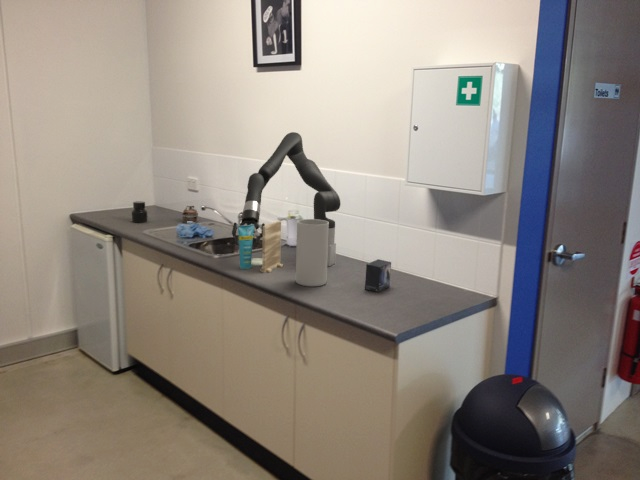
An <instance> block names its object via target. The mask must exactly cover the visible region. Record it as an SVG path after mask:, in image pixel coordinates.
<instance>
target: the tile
mask: <svg viewBox="0 0 640 480" xmlns="http://www.w3.org/2000/svg"><path fill="white" fill-rule="evenodd" d="M251 266H254V267H255V266H256V267H262V257H254V258H252V260H251Z"/></svg>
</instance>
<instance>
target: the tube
mask: <svg viewBox="0 0 640 480" xmlns="http://www.w3.org/2000/svg"><path fill="white" fill-rule="evenodd" d="M237 232H238V233H239V245H238V248H239V269H240V270H250V269H251V268H252V265H251V260H252V256H253V255H252V254H253V242H254V225H245V226H238V229H237Z"/></svg>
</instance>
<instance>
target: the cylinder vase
mask: <svg viewBox="0 0 640 480" xmlns="http://www.w3.org/2000/svg"><path fill="white" fill-rule="evenodd" d="M328 229H329V222H328V221H325V220H318V219H314V218H312V219H311V218H309V219H308V218H305V219H303V218H302V219H299V220H297V222H296V247H295V249H296V250H295V251H296V256H295V257H296V258H295V282H296V284H298V285H300V286H303V287H320V286H321V287H322V286H324V285H325V284H326V283H327V280H328V279H327V276H328V274H327V273H328V266H327V255H328Z"/></svg>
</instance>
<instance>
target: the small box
mask: <svg viewBox="0 0 640 480" xmlns="http://www.w3.org/2000/svg"><path fill="white" fill-rule="evenodd" d="M391 269H392V261H387V260H384V259H375V260H373V261H371V262H369V263H366V266H365V281H364V282H365V283H364V290H366V291H371V292H377V293H379V292H381V291H383V290H385V289H387V288H389V287H390V286H391V285H390V283H391V282H390V281H391ZM388 286H389V287H388ZM386 287H387V288H386Z"/></svg>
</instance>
